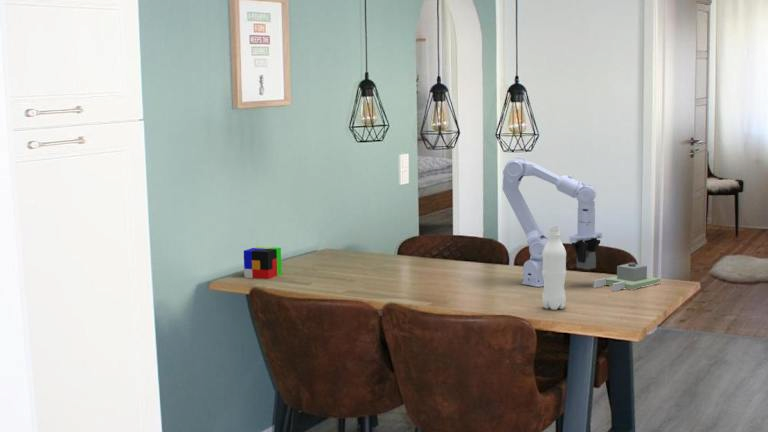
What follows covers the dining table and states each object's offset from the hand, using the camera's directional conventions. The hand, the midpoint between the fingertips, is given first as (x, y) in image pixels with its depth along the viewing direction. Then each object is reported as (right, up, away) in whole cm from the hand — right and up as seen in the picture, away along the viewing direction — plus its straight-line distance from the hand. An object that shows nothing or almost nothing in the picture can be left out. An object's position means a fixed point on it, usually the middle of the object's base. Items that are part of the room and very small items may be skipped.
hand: (585, 261), depth 322 cm
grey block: (0, -2, 0) cm, 2 cm away
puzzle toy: (-113, -7, +30) cm, 117 cm away
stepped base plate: (+14, -8, +1) cm, 16 cm away
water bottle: (-16, -13, -31) cm, 37 cm away
